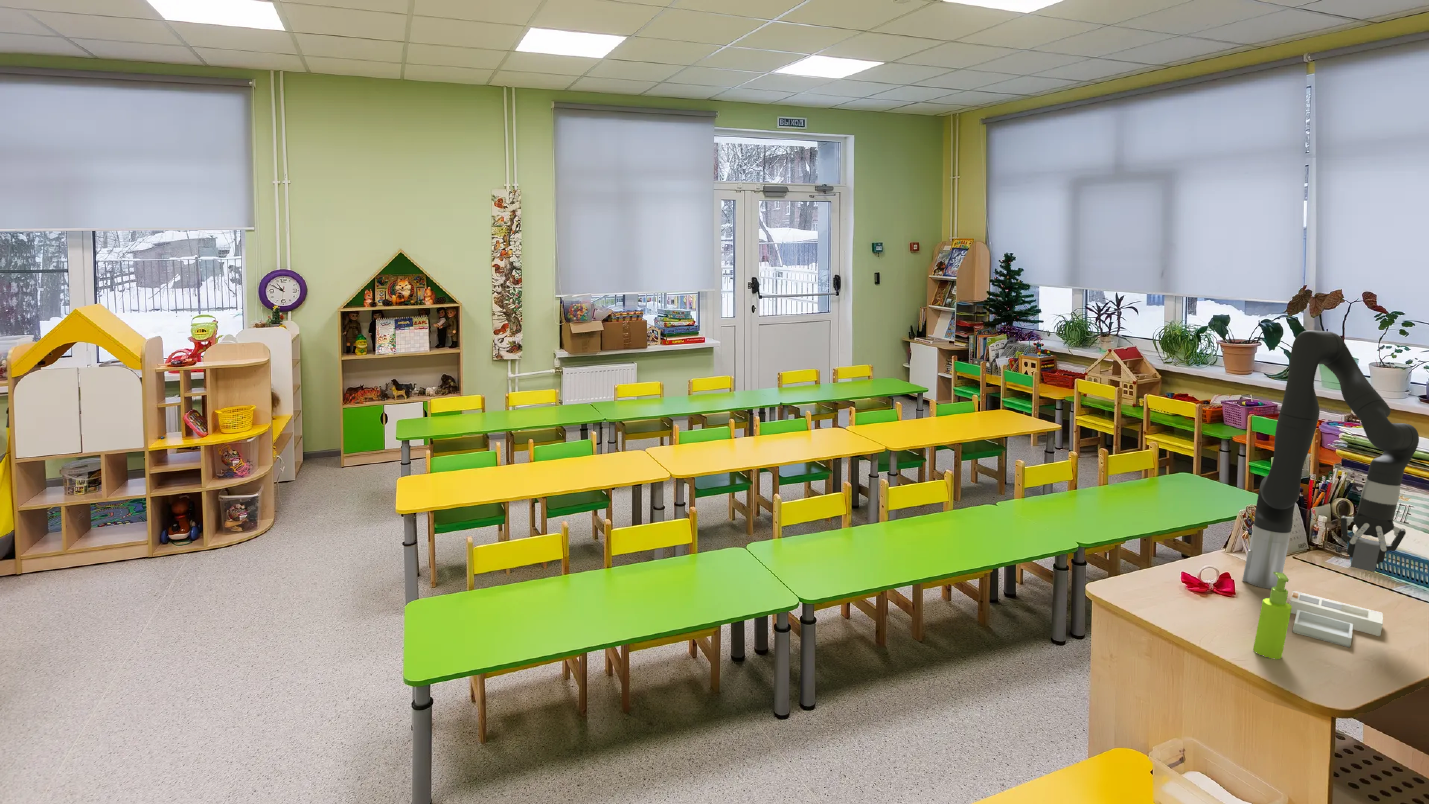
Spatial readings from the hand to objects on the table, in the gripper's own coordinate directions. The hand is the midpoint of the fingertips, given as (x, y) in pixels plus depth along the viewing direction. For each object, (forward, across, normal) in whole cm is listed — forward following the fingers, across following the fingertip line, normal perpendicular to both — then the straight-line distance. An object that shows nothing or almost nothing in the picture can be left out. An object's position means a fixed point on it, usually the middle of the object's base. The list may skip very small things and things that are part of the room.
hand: (1364, 559), depth 222 cm
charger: (+2, 0, 0) cm, 2 cm away
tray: (+18, -5, -13) cm, 23 cm away
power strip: (+18, -3, 0) cm, 18 cm away
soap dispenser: (+19, -15, -37) cm, 44 cm away
